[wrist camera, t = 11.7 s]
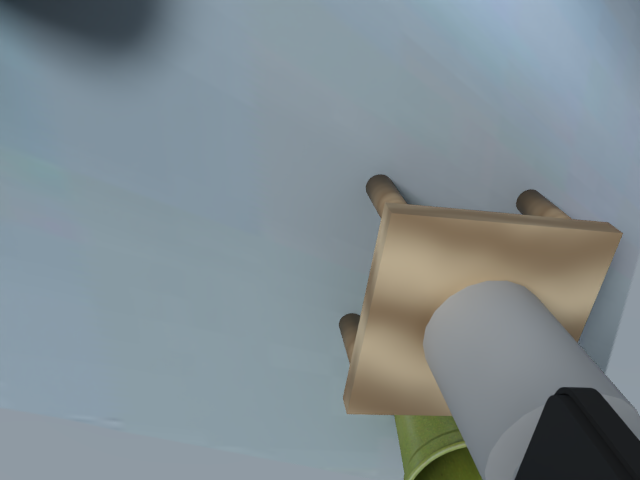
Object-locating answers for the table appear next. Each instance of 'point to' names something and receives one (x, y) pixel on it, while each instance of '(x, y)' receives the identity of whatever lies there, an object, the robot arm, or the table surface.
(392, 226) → the stool
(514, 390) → the can
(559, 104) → the table surface
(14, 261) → the table surface
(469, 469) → the plant pot
